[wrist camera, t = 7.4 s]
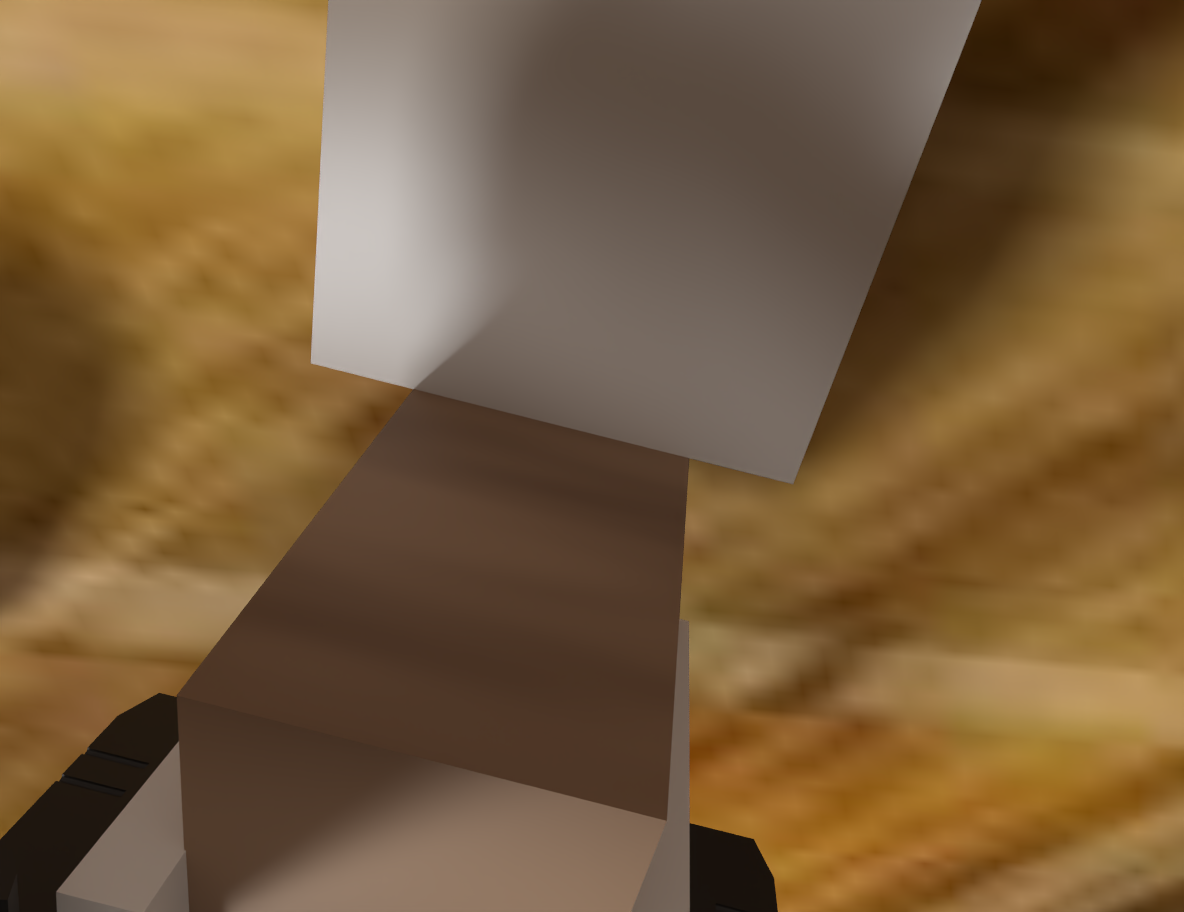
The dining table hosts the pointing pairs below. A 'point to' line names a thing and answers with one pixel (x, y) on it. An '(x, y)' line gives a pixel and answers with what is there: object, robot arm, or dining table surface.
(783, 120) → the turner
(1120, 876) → the dining table surface
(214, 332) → the dining table surface
